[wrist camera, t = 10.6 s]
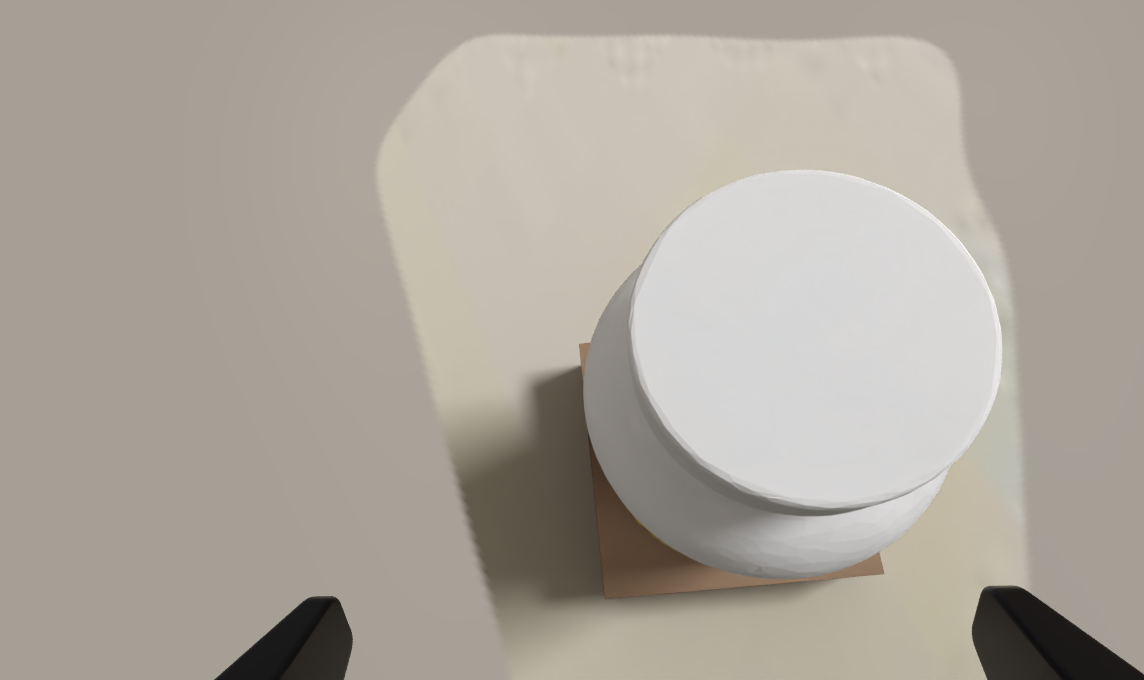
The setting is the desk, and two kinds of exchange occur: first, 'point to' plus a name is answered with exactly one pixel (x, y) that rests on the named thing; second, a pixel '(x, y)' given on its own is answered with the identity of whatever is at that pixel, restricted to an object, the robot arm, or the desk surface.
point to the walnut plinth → (664, 551)
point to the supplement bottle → (791, 373)
